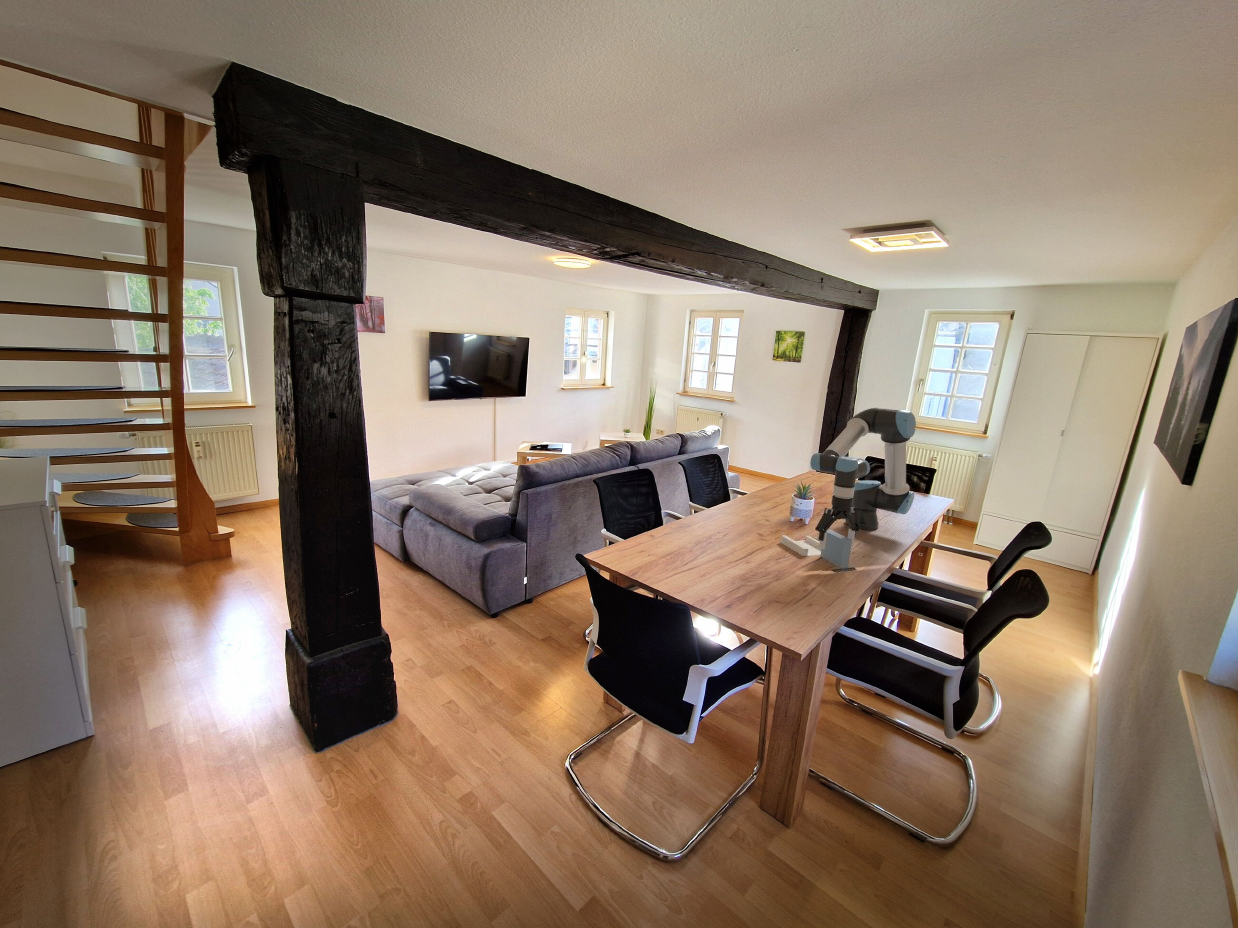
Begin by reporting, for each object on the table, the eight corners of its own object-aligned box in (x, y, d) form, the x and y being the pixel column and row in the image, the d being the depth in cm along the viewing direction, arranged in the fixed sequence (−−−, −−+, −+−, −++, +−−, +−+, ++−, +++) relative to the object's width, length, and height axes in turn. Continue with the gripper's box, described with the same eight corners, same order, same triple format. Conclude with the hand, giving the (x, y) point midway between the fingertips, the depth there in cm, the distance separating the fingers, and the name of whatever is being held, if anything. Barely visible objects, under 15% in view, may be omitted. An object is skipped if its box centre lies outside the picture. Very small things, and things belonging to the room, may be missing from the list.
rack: (825, 540, 225) (826, 531, 224) (850, 554, 210) (851, 544, 209) (780, 544, 219) (781, 535, 218) (803, 558, 204) (804, 548, 203)
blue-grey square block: (827, 556, 205) (830, 529, 203) (847, 568, 194) (851, 540, 191) (820, 557, 204) (823, 530, 202) (840, 569, 193) (844, 540, 190)
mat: (831, 556, 207) (832, 555, 207) (856, 570, 194) (856, 568, 194) (811, 558, 204) (812, 557, 204) (835, 572, 191) (835, 571, 191)
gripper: (861, 492, 200) (854, 540, 205) (809, 495, 193) (803, 545, 198) (875, 497, 193) (868, 547, 198) (822, 500, 186) (816, 552, 191)
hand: (836, 546), depth 198 cm, fingers open, 13 cm apart
